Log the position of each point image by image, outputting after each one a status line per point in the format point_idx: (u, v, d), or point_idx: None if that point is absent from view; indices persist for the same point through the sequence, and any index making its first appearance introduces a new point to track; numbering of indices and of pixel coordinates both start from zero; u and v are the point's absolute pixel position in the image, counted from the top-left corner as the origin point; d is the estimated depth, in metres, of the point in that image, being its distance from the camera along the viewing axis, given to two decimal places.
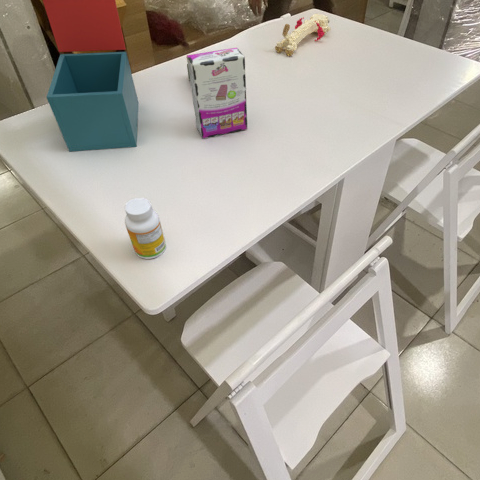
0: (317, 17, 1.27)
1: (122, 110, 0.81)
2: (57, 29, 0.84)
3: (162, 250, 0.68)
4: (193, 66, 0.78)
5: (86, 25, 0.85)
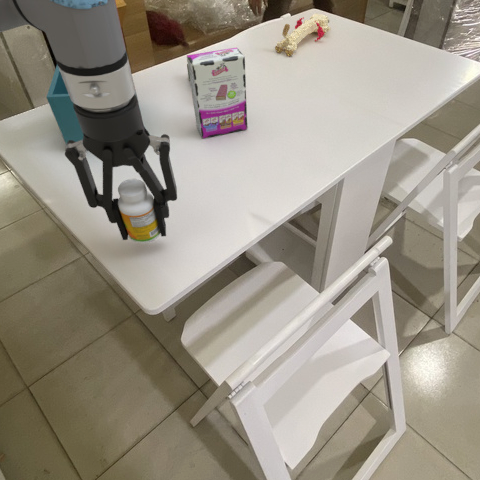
0: (317, 17, 1.27)
1: None
2: None
3: (157, 234, 0.66)
4: (193, 66, 0.78)
5: None
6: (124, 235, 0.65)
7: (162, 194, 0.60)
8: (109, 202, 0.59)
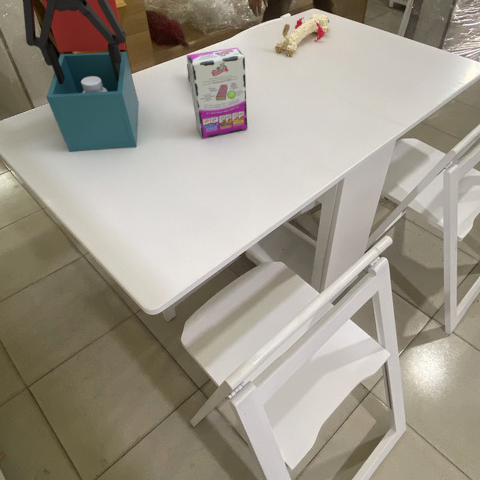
0: (317, 17, 1.27)
1: (122, 110, 0.81)
2: (57, 29, 0.84)
3: None
4: (193, 66, 0.78)
5: (86, 25, 0.85)
6: (59, 78, 0.81)
7: (112, 36, 0.77)
8: (44, 42, 0.75)
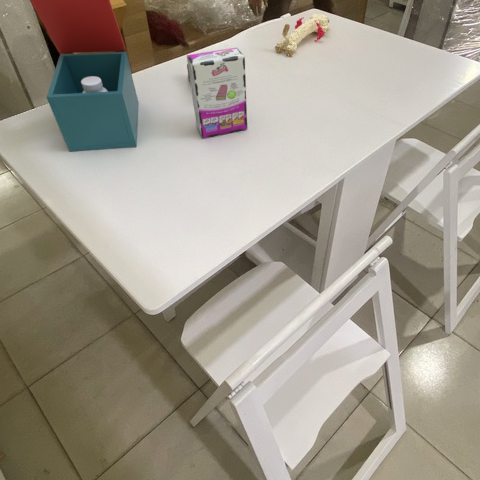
0: (317, 17, 1.27)
1: (122, 110, 0.81)
2: (56, 38, 0.83)
3: None
4: (193, 66, 0.78)
5: (86, 35, 0.84)
6: None
7: None
8: None
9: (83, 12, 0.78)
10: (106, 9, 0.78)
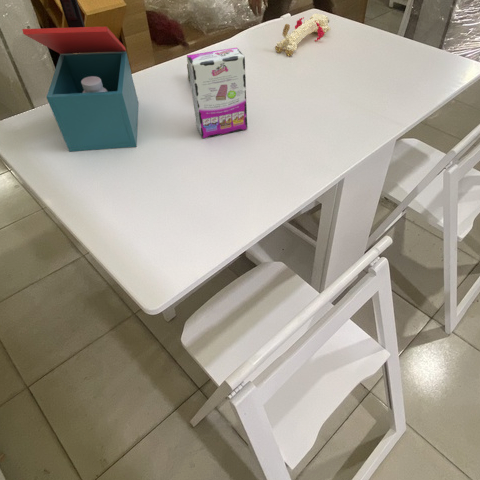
0: (317, 17, 1.27)
1: (122, 110, 0.81)
2: (59, 50, 0.84)
3: None
4: (193, 66, 0.78)
5: (88, 48, 0.84)
6: None
7: None
8: None
9: (88, 42, 0.79)
10: (111, 41, 0.79)
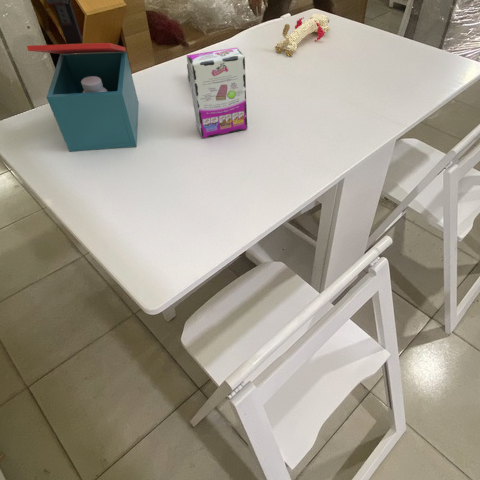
0: (317, 17, 1.27)
1: (122, 110, 0.81)
2: None
3: None
4: (193, 66, 0.78)
5: None
6: None
7: None
8: None
9: None
10: None
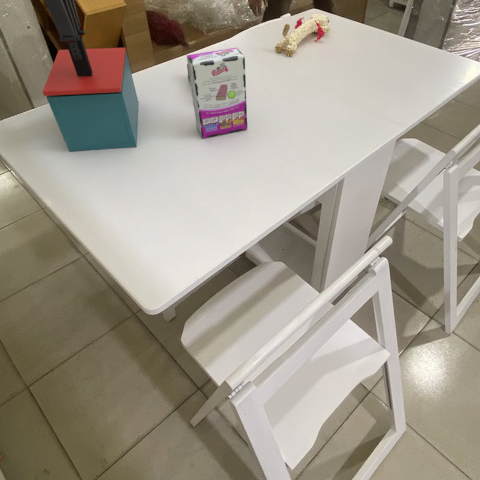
0: (317, 17, 1.27)
1: (122, 110, 0.81)
2: None
3: None
4: (193, 66, 0.78)
5: None
6: None
7: None
8: None
9: None
10: None
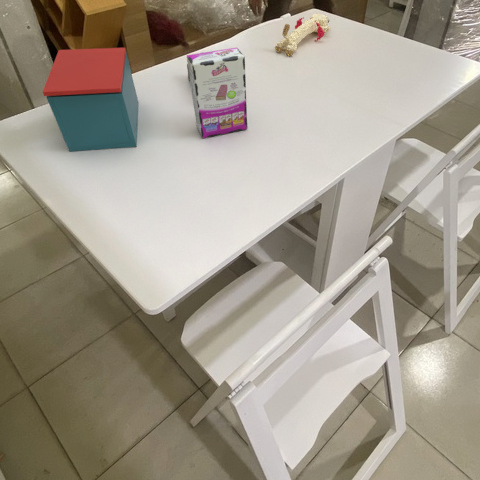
0: (317, 17, 1.27)
1: (122, 110, 0.81)
2: None
3: None
4: (193, 66, 0.78)
5: None
6: None
7: None
8: None
9: None
10: None
